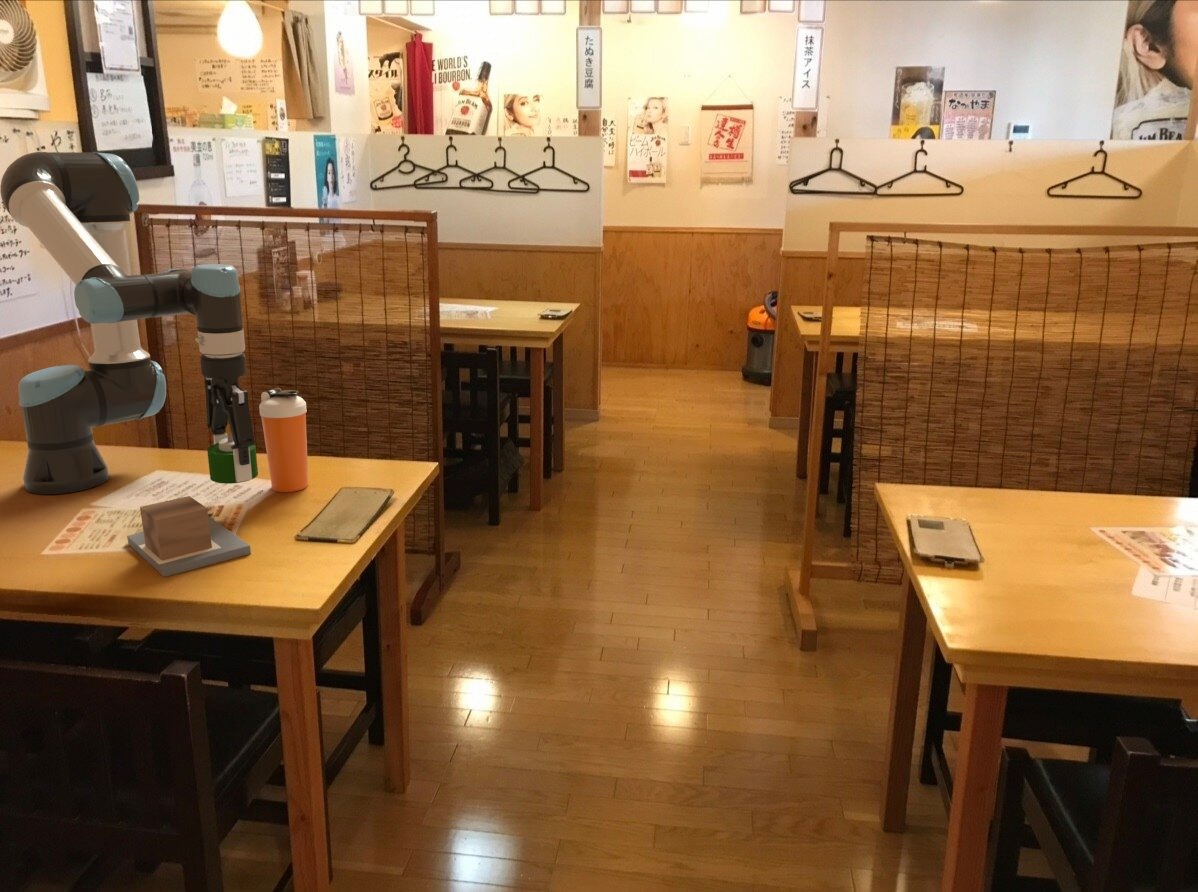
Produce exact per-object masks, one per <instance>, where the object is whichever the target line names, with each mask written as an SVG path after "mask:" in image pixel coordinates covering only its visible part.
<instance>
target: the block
mask: <svg viewBox="0 0 1198 892" xmlns="http://www.w3.org/2000/svg"><path fill="white" fill-rule="evenodd" d="M139 510H140V518H141V522H142V530H143V531H142V532H144V539H145V546H146V547H147V548H148V549H149V550H150V551H152V552H153V553H154V554H155V555H156V556H157V557H158V558H160V559H161V560H162V561H163V560H167V559H171V558H174V557H178V556H182V555H186V554H190V553H194V552H198V551H202V550H205V549H209V548H212V543H211V535H210V527H209V519H208V517H209V512H208V508H207V507H206V506H205V505H203V504H202V503H200V502H198V501H197V500H196V499H195V498H193V497H192V496H189V495H188V496H184V497H179V498H174V499H169V500H165V501H160V502H156V503H152V504H147V505H142V506H139Z"/></svg>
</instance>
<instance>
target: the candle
mask: <svg viewBox="0 0 1198 892" xmlns="http://www.w3.org/2000/svg"><path fill="white" fill-rule="evenodd" d="M225 433H227V438H225V439H222V440H220V441H219V443H217V444H214V443H213V445H210V446H208V447H207V449H206V450H207V452H206V453H207V461H208V470H209V471H208V472H209V479H210V481H212V482H214V483H218V484H223V485H225V484H228V485H231V484H240V483H246V482H249V481H250V480H247V481H243V482H238V483H237V482H236V477H235V467H234V456H233V449H232V448H231V446H233V445H235V444H234V440H233V436H232V432H231V429H230V425H229V423H227V427H226V432H225ZM249 449H250V460H251V472H252V480H254V479H255V478H257V477H258V476H259V470H258V458H257V447H256V444H255V445H252V446H249Z"/></svg>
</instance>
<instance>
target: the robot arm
mask: <svg viewBox="0 0 1198 892" xmlns="http://www.w3.org/2000/svg"><path fill="white" fill-rule="evenodd" d="M138 187H139V186H138V183H137V180H136V177H135V175H134V173H133V171H132V169H131V167H130V166H129V165H128V164H127V162H126V161H125V160H124V159H123V158H122V157H120V156H119V155H116V154H114V153H105V152H96V151H92V152H76V151H75V152H74V151H73V152H72V151H71V152H67V151H64V152H61V151H59V152H58V151H56V152H55V151H53V152H51V151H36V152H35V151H34V152H30V153H27V154H24V155H22V156H19V157H18V158H16V159H15V160H14V161H13V162H12V163H10V164H9V166H8V167H7V168H6V170H5V172H4V173H3V175H2V178H1V181H0V197H1V201H2V203H3V206H4V208H5V210H6V211H7V213H8V214H9V215H10V216H11V217H12V218H13V220H14V221H15V222H16V223H18V224H19V225H21V226H22V227H26V228H28V230H30V232H31V233H32V234H33V235H34V236H35V237H36V238H37V240H38V241H39V242H40V243H41V245H42V246H43V247H44V248H45V250H46V251H47V253H49V255H50V256H51V257H52V258H53V259H54V261H56V263H57V264H58V265H59V266H60V268H61V269H62V270H63V271H64V272H65V274H66V275H67V276H68V277H69V279H70V280H71V281H72V282H73V283H74V284H75V287H74V296H73V297H74V302H75V303H74V304H75V307H76V308H77V310H78V315H79V316H80V317H81V318H82V319H83V320H84V321H85V322H87V323H89V324H90V329H91V334H92V335H91V336H92V340H93V341H92V342H93V347H94V352H93V353H92V354H91V356H90V357H88V359H87V361H88V362H87V363H88V366H89V369H87V370H84V369H83V368H82V366H81V365H76V364H64V365H60V366H59V365H56V366H50V367H46V368H42V369H40V370H36V371H33V372H31V373H28V374H26V375H25V376H23V377H22V378H21V379H20V380H19V382H18V385H17V387H18V399H19V400H18V405H19V406H20V409H21V410H20V411H21V415H22V422H23V426H24V427H23V428H24V431H25V436H26V437H25V438H26V442H27V443H26V444H27V450H28V452H27V457H26V458H27V459H26V463H25V467H24V473H23V476H22V477H23V478H22V479H23V485H24V489H26V490H27V492H29V493H30V494H31V493H32V494H37V495H60V494H68V493H69V494H70V493H74V492H75V493H76V492H82V491H85V490H89V489H91V488H92V489H93V488H95V487H98V486H101V485H102V484H104V483H105V482H107V481H108V480H109V478H110V475H109V468H108V465H107V463H106V461H105V460H104V458H103V456H102V454H101V452H100V451H99V449H98V447H97V445H96V444H95V440H94V434H93V428H98V427H103V426H109V425H112V424H117V423H123V422H128V421H139V420H141V419H143V418H147V417H152V416H155V415H156V414H158V413H159V412H160V411H161V409H162V408H163V407H164V404H165V401H166V397H167V382H166V377H165V374H164V373H163V369H162V367H161V366H160V364H159V362H156V361H154V360H151V355H150V353H149V352H148V351H146V350H145V349H143V347H142V346H141V339H140V338H141V337H140V334H139V333H140V332H139V327H138V326H139V325H138V320H142V319H151V318H159V317H160V318H161V317H169V316H179V315H192V316H195V321H196V330H197V337H196V338H195V342H196V343H198V347H199V348H198V349H199V352H200V353H201V354H202V355H200V357H199V360H200V370H201V375H202V376H203V377H205V379H204V384H205V385H204V387H205V394H206V398H205V399H206V400H205V401H206V427H207V429H209V430H210V432H211V434H212V436H213V445H214V444H217V443H219V441H220V440H222V439H225V438H227V433H226V427H227V425H228V424H229V425H230V429H231V432H232V436H233V440H234V444H235V445H233V446H231V448H232V449H233V456H234V467H235V477H236V482H237V483H236V484H239V483H238V482H241V483H244V482H243V481H246V482H248V481H247V480H249V481H251V480H253V479H252V472H251V460H250V449H249V446H252V445H256V442H255V437H254V431H253V425H252V424H253V423H252V418H251V410H250V405H249V392H248V391H247V390H242V388H241V385H240V381H239V378H240V377H243V376H244V375H246V374H247V371H248V369H247V358H246V357H247V356H246V354H245V353H244V351H245V350H246V342H245V331H244V328H243V327H244V326H243V311H242V298H241V297H242V296H241V285H240V282H239V275H238V270H237V268H236V267H234V265H232V264H231V265H230V264H221V263H206V264H205V263H204V264H199V265H195V266H193V268H192V270H188V269H187V268H186V269H184V268H180V269H179V268H172V269H168V270H165V271H163V272H159V273H149V274H147V273H146V274H145V273H144V274H143V273H142V274H135V275H133V274H132V275H131V272H130V270H131V269H130V265H129V259H128V252H127V246H126V237H125V233H124V232H125V230H126V228H127V227H128V226H129V225H130V224H131V216H130V214H133V213H134V212H136V211H137V210H138V208H139V201H140V193H139V192H140V191H139V188H138ZM26 490H25V491H26Z"/></svg>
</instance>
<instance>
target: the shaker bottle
mask: <svg viewBox="0 0 1198 892" xmlns="http://www.w3.org/2000/svg"><path fill="white" fill-rule="evenodd" d="M299 394H300V391H299V390H294V389H285V390H282V389H281V388H279V387H275V388H272V389H269V390H266V391H263V392H261V396H260V398H261V399H260V400H261V402H260V404H259V406H258V408H259V416H260V417H261V422H262V423H261V424H262V428H263V429H262V431H263V436H264V443H265V450H266V457H267V463H268V469H269V476H270V484H271V489H272V490H273V491H274V492H279V493H292V492H298V491H301V490H304V489H306V488H307V487H308V486H309V468H308V464H309V463H308V439H307V416H306V414H307V412H308V411H307V402H306V401H305V400H304V398H302V396H298V395H299Z"/></svg>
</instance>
